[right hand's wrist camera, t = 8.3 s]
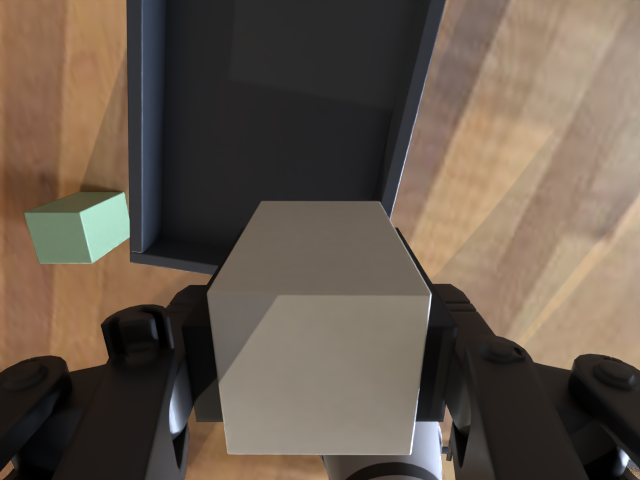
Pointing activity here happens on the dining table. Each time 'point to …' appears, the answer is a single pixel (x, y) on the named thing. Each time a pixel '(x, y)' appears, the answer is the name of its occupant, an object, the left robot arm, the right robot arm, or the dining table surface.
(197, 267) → the tray
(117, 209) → the sage block
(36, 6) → the dining table surface
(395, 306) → the cream block
